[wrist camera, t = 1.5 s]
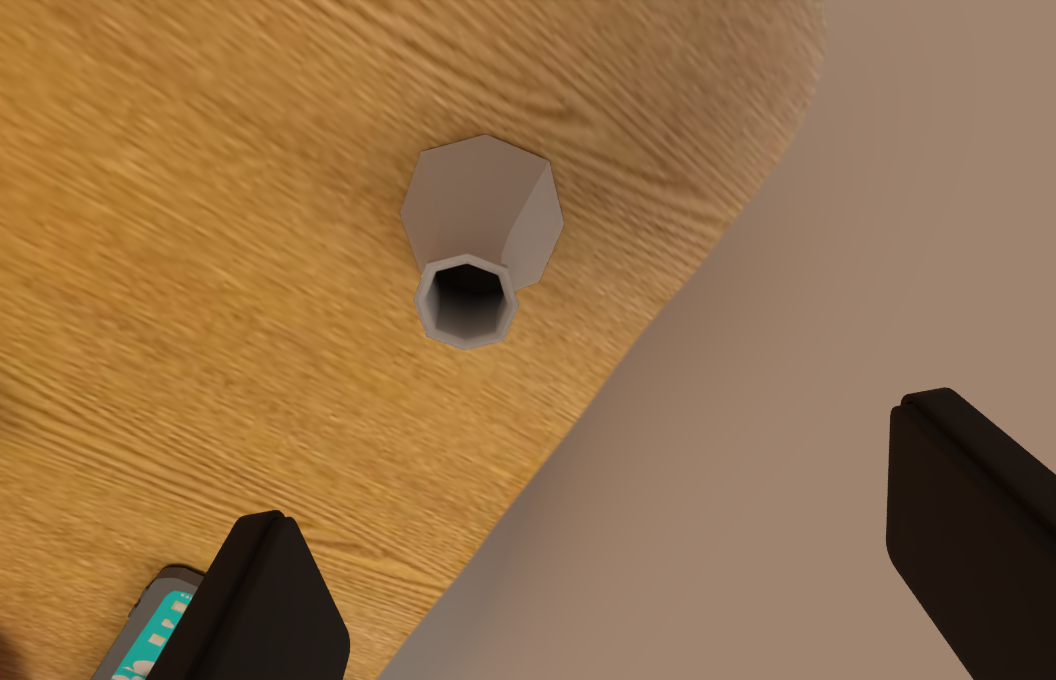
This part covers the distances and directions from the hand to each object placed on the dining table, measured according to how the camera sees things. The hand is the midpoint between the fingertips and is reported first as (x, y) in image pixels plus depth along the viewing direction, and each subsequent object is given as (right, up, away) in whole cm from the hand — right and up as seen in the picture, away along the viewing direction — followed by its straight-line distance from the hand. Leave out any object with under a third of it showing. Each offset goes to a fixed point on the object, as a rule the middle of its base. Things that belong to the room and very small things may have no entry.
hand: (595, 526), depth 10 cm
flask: (-3, +8, +19) cm, 21 cm away
